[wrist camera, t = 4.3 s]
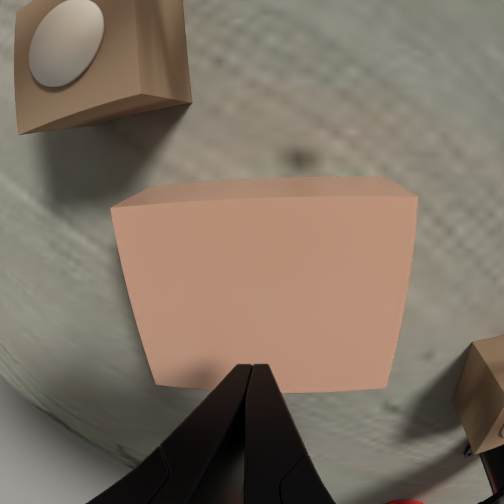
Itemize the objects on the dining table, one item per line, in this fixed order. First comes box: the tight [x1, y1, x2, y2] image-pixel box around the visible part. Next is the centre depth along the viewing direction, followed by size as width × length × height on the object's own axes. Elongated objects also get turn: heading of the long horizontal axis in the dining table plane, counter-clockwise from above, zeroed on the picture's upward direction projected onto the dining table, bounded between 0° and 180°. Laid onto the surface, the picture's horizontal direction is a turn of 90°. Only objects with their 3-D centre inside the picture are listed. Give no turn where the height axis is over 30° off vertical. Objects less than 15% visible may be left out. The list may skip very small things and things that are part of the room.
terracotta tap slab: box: [110, 177, 418, 393], centre depth 13 cm, size 8×10×4 cm
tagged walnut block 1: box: [14, 0, 192, 135], centre depth 9 cm, size 5×5×5 cm
